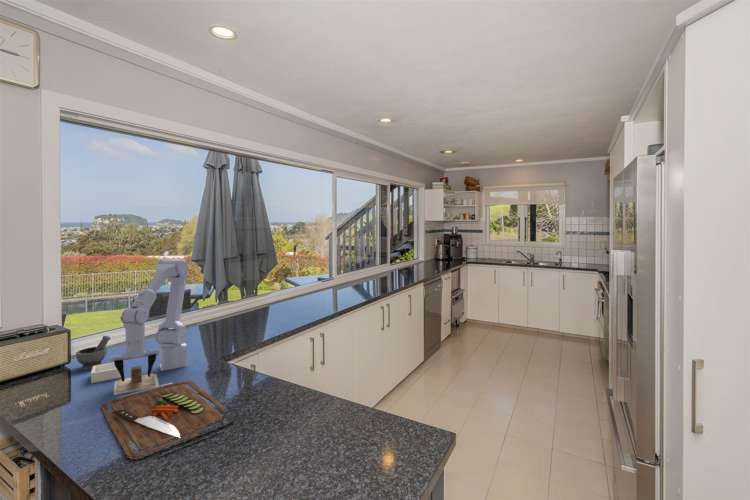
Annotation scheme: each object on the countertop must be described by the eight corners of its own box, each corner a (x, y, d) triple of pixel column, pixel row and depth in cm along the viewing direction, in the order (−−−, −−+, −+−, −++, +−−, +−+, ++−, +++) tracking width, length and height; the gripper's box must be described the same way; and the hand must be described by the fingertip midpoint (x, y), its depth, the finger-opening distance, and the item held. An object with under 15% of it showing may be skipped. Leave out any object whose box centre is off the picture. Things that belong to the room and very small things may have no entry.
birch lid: (153, 375, 136) (153, 360, 135) (155, 385, 127) (155, 369, 126) (118, 382, 129) (117, 366, 129) (117, 393, 120) (116, 376, 120)
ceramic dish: (122, 371, 141) (122, 361, 141) (121, 378, 133) (121, 368, 133) (93, 376, 136) (93, 365, 135) (91, 384, 128) (90, 373, 128)
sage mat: (156, 374, 137) (156, 373, 137) (158, 386, 126) (158, 385, 126) (114, 382, 130) (114, 381, 130) (113, 396, 119) (113, 395, 119)
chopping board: (243, 425, 102) (243, 415, 102) (132, 470, 83) (132, 457, 82) (187, 380, 133) (187, 372, 133) (97, 405, 114) (97, 396, 114)
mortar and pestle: (77, 373, 138) (76, 342, 138) (75, 366, 145) (74, 337, 145) (112, 366, 146) (111, 337, 145) (110, 360, 153) (109, 332, 152)
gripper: (109, 347, 120) (110, 386, 120) (159, 340, 128) (160, 377, 129) (110, 342, 126) (111, 379, 126) (158, 335, 134) (159, 371, 134)
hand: (136, 378), depth 128 cm, fingers open, 7 cm apart
